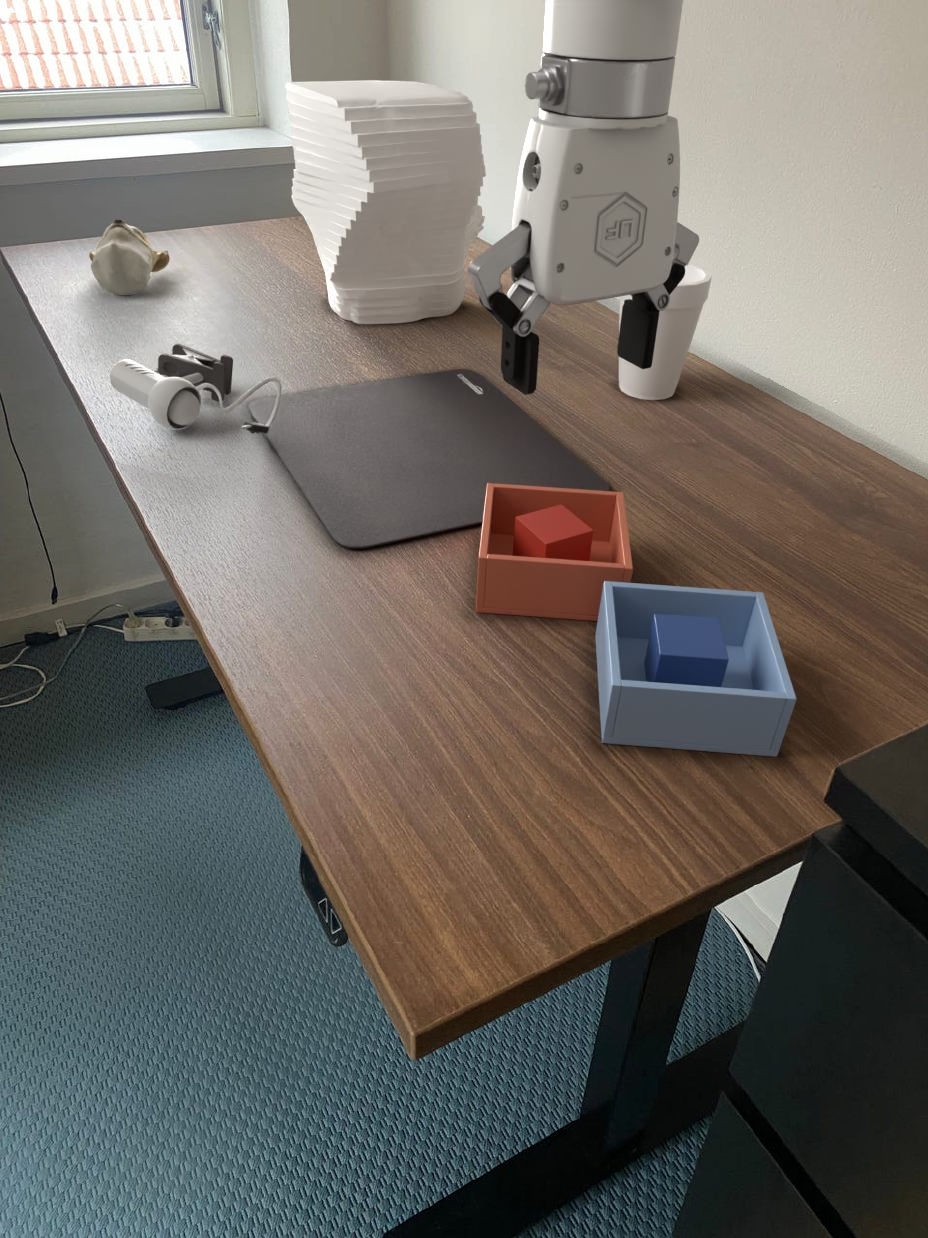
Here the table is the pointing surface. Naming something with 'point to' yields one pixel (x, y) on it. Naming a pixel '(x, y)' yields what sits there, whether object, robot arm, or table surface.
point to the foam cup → (668, 339)
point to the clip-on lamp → (183, 386)
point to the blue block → (686, 651)
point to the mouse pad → (412, 453)
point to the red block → (552, 535)
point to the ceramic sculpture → (125, 259)
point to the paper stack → (388, 193)
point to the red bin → (545, 580)
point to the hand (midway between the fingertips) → (577, 374)
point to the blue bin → (689, 714)
